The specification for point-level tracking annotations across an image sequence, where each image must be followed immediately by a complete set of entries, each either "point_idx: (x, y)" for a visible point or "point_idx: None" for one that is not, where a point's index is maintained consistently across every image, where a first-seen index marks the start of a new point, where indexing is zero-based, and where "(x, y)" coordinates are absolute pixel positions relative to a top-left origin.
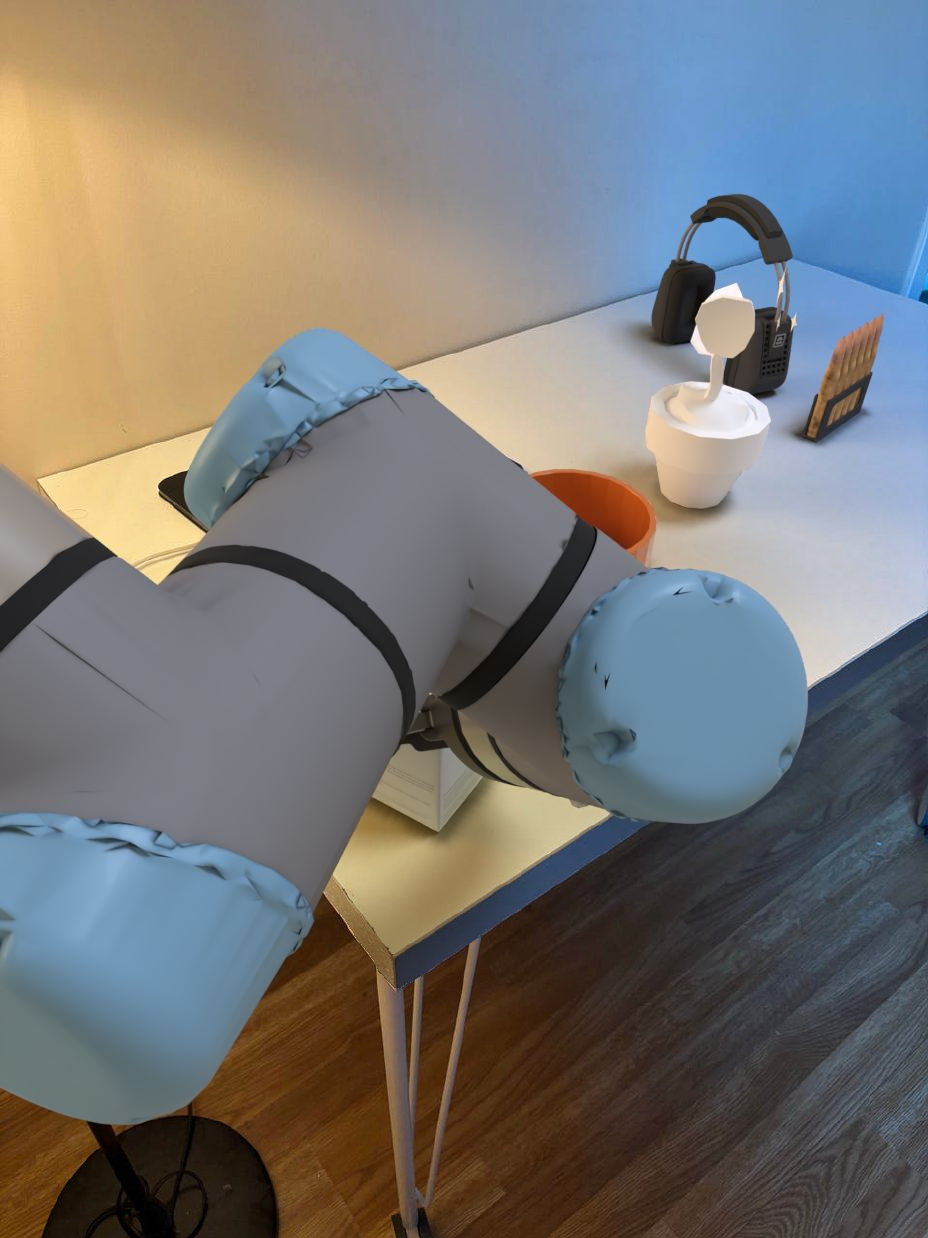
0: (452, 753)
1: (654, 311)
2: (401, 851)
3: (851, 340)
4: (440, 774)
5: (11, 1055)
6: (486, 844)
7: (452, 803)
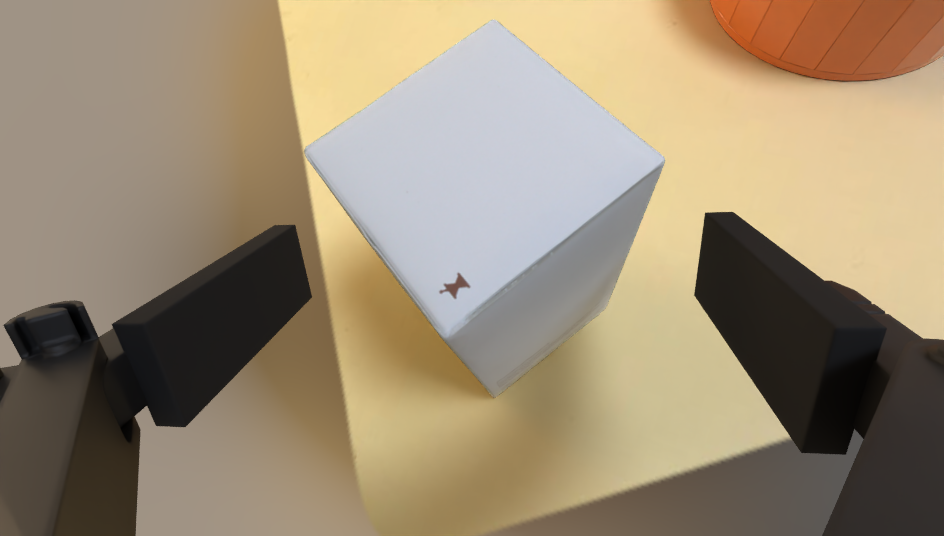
0: (508, 352)
1: None
2: (437, 409)
3: None
4: (480, 378)
5: None
6: (556, 439)
7: (519, 374)
